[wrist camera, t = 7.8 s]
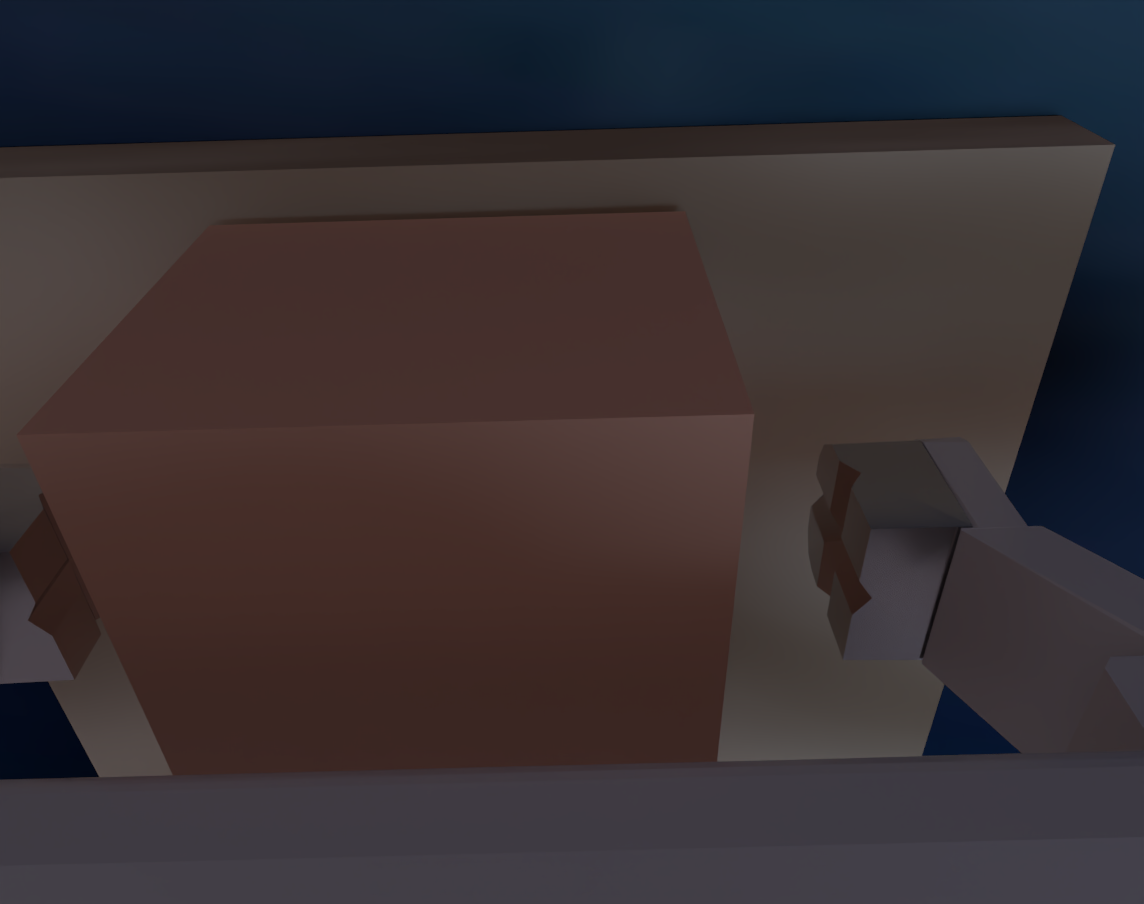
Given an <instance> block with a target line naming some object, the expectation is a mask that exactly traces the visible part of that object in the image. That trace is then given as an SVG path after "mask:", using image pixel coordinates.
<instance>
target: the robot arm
mask: <svg viewBox="0 0 1144 904" xmlns="http://www.w3.org/2000/svg"><path fill="white" fill-rule="evenodd" d="M816 476H817V479H818V481H819V484H820V486H821V489H822V491H823V495H822V496H821V497H820V498H819V499H818V500H817V501H816V502H815V503H814V504H813V505H812V506H811V509H810V516H809V524H808V554H809V559H810V565H811V570H812V573H813V576H814V579H815V582H816V585H817V587H818V588H820V589H821V590H822V591H824V592H825V593H826V594H828V595H829V596H830V600H829V606H828V611H827V617H828V620H829V623H830V625H831V628H832V631H833V634H834V637H835V639H836V642H837V645H838V648H839V651H840V653H841V656H842V659H843V660H922V664H923V665H924V666H925V667H926V668H927V669H928V670H929V671H930V672H932V673H933V674H934V675H935V676H936V677H937V678H938V679H939V680H941V681H942V682H943V683H944V684H945V685H946V686H947V687H948V688H949V689H951V690H952V691H953V692H954V693H955V694H956V695H957V696H958V697H960V698H961V699H962V700H963V701H964V702H965V703H966V704H967V705H968V706H970V707H971V708H972V709H973V710H974V711H975V712H976V713H977V714H979V715H980V716H981V717H982V718H983V719H984V720H985V721H986V722H987V723H989V724H990V725H991V726H992V727H993V728H994V729H995V730H996V731H998V732H999V733H1000V734H1001V735H1002V736H1003V737H1004V738H1005V739H1006V740H1008V741H1009V742H1010V743H1011V744H1012V745H1013V746H1014V747H1015V748H1017V749H1018V750H1019V751H1020V752H1021V753H1019V754H979V755H941V756H907V757H872V758H837V759H803V760H763V761H720V762H677V763H635V764H592V765H549V766H506V767H467V768H429V769H391V770H353V771H315V772H277V773H240V774H202V775H164V776H125V777H85V778H46V779H7V780H0V904H1144V579H1142V578H1140V577H1138V576H1136V575H1134V574H1132V573H1131V572H1129V571H1127V570H1125V569H1123V568H1121V567H1119V566H1117V565H1115V564H1113V563H1112V562H1110V561H1108V560H1106V559H1104V558H1102V557H1100V556H1098V555H1096V554H1094V553H1093V552H1091V551H1089V550H1087V549H1085V548H1083V547H1081V546H1079V545H1077V544H1075V543H1073V542H1072V541H1070V540H1068V539H1066V538H1064V537H1062V536H1060V535H1058V534H1056V533H1054V532H1053V531H1051V530H1049V529H1047V528H1045V527H1043V526H1027V524H1026V523H1025V521H1024V520H1023V519H1022V517H1021V516H1020V514H1019V513H1018V512H1017V510H1016V509H1015V507H1014V506H1013V504H1012V503H1011V502H1010V500H1009V499H1008V497H1007V496H1006V494H1005V493H1004V492H1003V490H1002V489H1001V487H1000V486H999V484H998V483H997V482H996V480H995V479H994V477H993V476H992V474H991V473H990V472H989V470H988V469H987V467H986V466H985V464H984V463H983V462H982V460H981V459H980V457H979V456H978V455H977V453H976V452H975V450H974V449H973V447H972V446H971V445H970V443H969V442H968V441H967V440H965V439H963V438H961V437H950V438H933V439H917V440H914V441H891V442H867V443H844V444H824V446H823V448H822V451H821V453H820V456H819V460H818V466H817V472H816ZM98 618H100V616H99V614H98V612H97V609H96V607H95V605H94V603H93V601H92V599H91V596H90V594H89V592H88V590H87V588H86V586H85V583H84V581H83V579H82V577H81V575H80V573H79V570H78V568H77V566H76V564H75V562H74V559H73V557H72V555H71V553H70V551H69V549H68V546H67V544H66V542H65V540H64V538H63V536H62V533H61V531H60V529H59V527H58V525H57V523H56V520H55V518H54V516H53V514H52V512H51V510H50V507H49V505H48V503H47V501H46V499H45V496H44V494H43V492H42V490H41V488H40V486H39V483H38V481H37V479H36V477H35V475H34V473H33V470H32V468H31V466H30V464H29V463H24V464H0V684H5V683H24V682H43V681H62V680H75V678H76V676H77V675H78V673H79V671H80V670H81V668H82V666H83V664H84V663H85V661H86V659H87V658H88V656H89V654H90V653H91V651H92V649H93V647H94V646H95V644H96V642H97V641H98V639H99V637H100V636H101V632H100V629H99V626H98V624H97V621H96V620H97V619H98Z"/></svg>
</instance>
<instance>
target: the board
mask: <svg viewBox="0 0 1144 904" xmlns="http://www.w3.org/2000/svg"><path fill="white" fill-rule="evenodd" d="M1114 147H1115V144H1113V143H1111V142H1109V141H1108V140H1106V139H1104V138H1102V137H1100V136H1098V135H1096V134H1095V133H1093V132H1091V131H1089V130H1087V129H1085V128H1083V127H1082V126H1080V125H1078V124H1076V123H1074V122H1072V121H1070V120H1069V119H1067V118H1065V117H1063V116H1031V117H998V118H965V119H931V120H898V121H865V122H832V123H798V124H765V125H732V126H699V127H666V128H632V129H599V130H566V131H533V132H500V133H466V134H433V135H400V136H367V137H334V138H300V139H267V140H234V141H201V142H168V143H134V144H101V145H68V146H35V147H1V148H0V464H24V463H29V462H28V460H27V457H26V455H25V453H24V451H23V449H22V447H21V444H20V442H19V440H18V438H17V436H16V435H17V434H18V432H19V431H20V430H21V429H22V428H23V427H24V426H25V425H26V424H27V423H28V422H29V421H30V419H31V418H32V417H33V416H34V415H35V414H36V413H37V412H38V411H39V410H40V409H41V408H42V406H43V405H44V404H45V403H46V402H47V401H48V400H49V399H50V398H51V397H52V396H53V394H54V393H55V392H56V391H57V390H58V389H59V388H60V387H61V386H62V385H63V384H64V383H65V381H66V380H67V379H68V378H69V377H70V376H71V375H72V374H73V373H74V372H75V371H76V370H77V368H78V367H79V366H80V365H81V364H82V363H83V362H84V361H85V360H86V359H87V358H88V357H89V355H90V354H91V353H92V352H93V351H94V350H95V349H96V348H97V347H98V346H99V345H100V343H101V342H102V341H103V340H104V339H105V338H106V337H107V336H108V335H109V334H110V333H111V332H112V330H113V329H114V328H115V327H116V326H117V325H118V324H119V323H120V322H121V321H122V320H123V319H124V317H125V316H126V315H127V314H128V313H129V312H130V311H131V310H132V309H133V308H134V307H135V305H136V304H137V303H138V302H139V301H140V300H141V299H142V298H143V297H144V296H145V295H146V294H147V292H148V291H149V290H150V289H151V288H152V287H153V286H154V285H155V284H156V283H157V282H158V281H159V279H160V278H161V277H162V276H163V275H164V274H165V273H166V272H167V271H168V270H169V269H170V267H171V266H172V265H173V264H174V263H175V262H176V261H177V260H178V259H179V258H180V257H181V256H182V254H183V253H184V252H185V251H186V250H187V249H188V248H189V247H190V246H191V245H192V244H193V243H194V241H195V240H196V239H197V238H198V237H199V236H200V235H201V234H202V233H203V232H204V231H205V230H206V228H207V227H208V226H209V225H235V224H269V223H303V222H337V221H371V220H404V219H438V218H472V217H506V216H540V215H573V214H607V213H641V212H675V211H685V212H686V215H687V218H688V221H689V224H690V227H691V230H692V233H693V236H694V239H695V242H696V245H697V248H698V250H699V253H700V256H701V259H702V262H703V265H704V268H705V271H706V274H707V277H708V280H709V283H710V286H711V288H712V291H713V294H714V297H715V300H716V303H717V306H718V309H719V312H720V315H721V318H722V321H723V324H724V326H725V329H726V332H727V335H728V338H729V341H730V344H731V347H732V350H733V353H734V356H735V359H736V362H737V364H738V367H739V370H740V373H741V376H742V379H743V382H744V385H745V388H746V391H747V394H748V397H749V400H750V403H751V405H752V408H753V411H754V423H753V432H752V442H751V451H750V460H749V470H748V479H747V488H746V497H745V507H744V516H743V525H742V535H741V544H740V553H739V563H738V572H737V581H736V590H735V600H734V609H733V618H732V628H731V637H730V646H729V655H728V665H727V674H726V683H725V693H724V702H723V711H722V721H721V730H720V739H719V748H718V758H717V762H720V761H763V760H803V759H837V758H872V757H907V756H922V753H923V750H924V747H925V744H926V741H927V737H928V734H929V731H930V728H931V725H932V722H933V718H934V715H935V712H936V709H937V706H938V703H939V700H940V696H941V693H942V690H943V687H944V683H943V682H942V681H941V680H939V679H938V678H937V677H936V676H935V675H934V674H933V673H932V672H930V671H929V670H928V669H927V668H926V667H925V666H924V665H923V664H922V660H843V659H842V656H841V653H840V651H839V648H838V645H837V642H836V639H835V637H834V634H833V631H832V628H831V625H830V623H829V620H828V617H827V611H828V606H829V600H830V596H829V595H828V594H826V593H825V592H824V591H822V590H821V589H820V588H818V587H817V585H816V582H815V579H814V576H813V573H812V570H811V565H810V559H809V554H808V524H809V516H810V509H811V506H812V505H813V504H814V503H815V502H816V501H817V500H818V499H819V498H820V497H821V496H822V495H823V491H822V489H821V486H820V484H819V481H818V479H817V476H816V472H817V466H818V460H819V456H820V453H821V451H822V448H823V446H824V444H844V443H867V442H891V441H914V440H917V439H933V438H950V437H961V438H963V439H965V440H967V441H968V442H969V443H970V445H971V446H972V447H973V449H974V450H975V452H976V453H977V455H978V456H979V457H980V459H981V460H982V462H983V463H984V464H985V466H986V467H987V469H988V470H989V472H990V473H991V474H992V476H993V477H994V479H995V480H996V482H997V483H998V484H999V486H1000V487H1001V489H1002V490H1003V492H1004V493H1005V491H1006V488H1007V485H1008V482H1009V479H1010V475H1011V472H1012V469H1013V466H1014V463H1015V460H1016V456H1017V453H1018V450H1019V447H1020V444H1021V441H1022V437H1023V434H1024V431H1025V428H1026V425H1027V422H1028V419H1029V415H1030V412H1031V409H1032V406H1033V403H1034V400H1035V396H1036V393H1037V390H1038V387H1039V384H1040V381H1041V377H1042V374H1043V371H1044V368H1045V365H1046V362H1047V359H1048V355H1049V352H1050V349H1051V346H1052V343H1053V340H1054V336H1055V333H1056V330H1057V327H1058V324H1059V321H1060V317H1061V314H1062V311H1063V308H1064V305H1065V302H1066V299H1067V295H1068V292H1069V289H1070V286H1071V283H1072V280H1073V276H1074V273H1075V270H1076V267H1077V264H1078V261H1079V257H1080V254H1081V251H1082V248H1083V245H1084V242H1085V239H1086V235H1087V232H1088V229H1089V226H1090V223H1091V220H1092V216H1093V213H1094V210H1095V207H1096V204H1097V201H1098V198H1099V194H1100V191H1101V188H1102V185H1103V182H1104V179H1105V175H1106V172H1107V169H1108V166H1109V163H1110V160H1111V156H1112V153H1113V150H1114ZM96 621H97V624H98V626H99V629H100V632H101V636H100V637H99V639H98V641H97V642H96V644H95V646H94V647H93V649H92V651H91V653H90V654H89V656H88V658H87V659H86V661H85V663H84V664H83V666H82V668H81V670H80V671H79V673H78V675H77V676H76V678H75V680H62V681H48V682H49V684H50V686H51V688H52V690H53V692H54V694H55V695H56V697H57V699H58V701H59V703H60V705H61V707H62V708H63V710H64V712H65V714H66V716H67V718H68V720H69V721H70V723H71V725H72V727H73V729H74V731H75V733H76V734H77V736H78V738H79V740H80V742H81V744H82V746H83V747H84V749H85V751H86V753H87V755H88V757H89V759H90V760H91V762H92V764H93V766H94V768H95V770H96V772H97V773H98V775H99V777H125V776H164V775H172V772H171V770H170V768H169V766H168V764H167V762H166V759H165V757H164V755H163V753H162V751H161V748H160V746H159V744H158V742H157V740H156V738H155V735H154V733H153V731H152V729H151V727H150V725H149V722H148V720H147V718H146V716H145V714H144V712H143V709H142V707H141V705H140V703H139V701H138V699H137V696H136V694H135V692H134V690H133V688H132V685H131V683H130V681H129V679H128V677H127V675H126V672H125V670H124V668H123V666H122V664H121V662H120V659H119V657H118V655H117V653H116V651H115V649H114V646H113V644H112V642H111V640H110V638H109V636H108V633H107V631H106V629H105V627H104V625H103V622H102V620H101V618H98V619H97V620H96Z"/></svg>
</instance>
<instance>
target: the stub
mask: <svg viewBox="0 0 1144 904" xmlns="http://www.w3.org/2000/svg"><path fill="white" fill-rule="evenodd" d="M753 423H754V411H753V408H752V405H751V403H750V400H749V397H748V394H747V391H746V388H745V385H744V382H743V379H742V376H741V373H740V370H739V367H738V364H737V362H736V359H735V356H734V353H733V350H732V347H731V344H730V341H729V338H728V335H727V332H726V329H725V326H724V324H723V321H722V318H721V315H720V312H719V309H718V306H717V303H716V300H715V297H714V294H713V291H712V288H711V286H710V283H709V280H708V277H707V274H706V271H705V268H704V265H703V262H702V259H701V256H700V253H699V250H698V248H697V245H696V242H695V239H694V236H693V233H692V230H691V227H690V224H689V221H688V218H687V215H686V212H685V211H675V212H641V213H607V214H573V215H540V216H506V217H472V218H438V219H404V220H371V221H337V222H303V223H269V224H235V225H209V226H208V227H207V228H206V230H205V231H204V232H203V233H202V234H201V235H200V236H199V237H198V238H197V239H196V240H195V241H194V243H193V244H192V245H191V246H190V247H189V248H188V249H187V250H186V251H185V252H184V253H183V254H182V256H181V257H180V258H179V259H178V260H177V261H176V262H175V263H174V264H173V265H172V266H171V267H170V269H169V270H168V271H167V272H166V273H165V274H164V275H163V276H162V277H161V278H160V279H159V281H158V282H157V283H156V284H155V285H154V286H153V287H152V288H151V289H150V290H149V291H148V292H147V294H146V295H145V296H144V297H143V298H142V299H141V300H140V301H139V302H138V303H137V304H136V305H135V307H134V308H133V309H132V310H131V311H130V312H129V313H128V314H127V315H126V316H125V317H124V319H123V320H122V321H121V322H120V323H119V324H118V325H117V326H116V327H115V328H114V329H113V330H112V332H111V333H110V334H109V335H108V336H107V337H106V338H105V339H104V340H103V341H102V342H101V343H100V345H99V346H98V347H97V348H96V349H95V350H94V351H93V352H92V353H91V354H90V355H89V357H88V358H87V359H86V360H85V361H84V362H83V363H82V364H81V365H80V366H79V367H78V368H77V370H76V371H75V372H74V373H73V374H72V375H71V376H70V377H69V378H68V379H67V380H66V381H65V383H64V384H63V385H62V386H61V387H60V388H59V389H58V390H57V391H56V392H55V393H54V394H53V396H52V397H51V398H50V399H49V400H48V401H47V402H46V403H45V404H44V405H43V406H42V408H41V409H40V410H39V411H38V412H37V413H36V414H35V415H34V416H33V417H32V418H31V419H30V421H29V422H28V423H27V424H26V425H25V426H24V427H23V428H22V429H21V430H20V431H19V432H18V434H17V435H16V436H17V438H18V440H19V442H20V444H21V447H22V449H23V451H24V453H25V455H26V457H27V460H28V462H29V464H30V466H31V468H32V470H33V473H34V475H35V477H36V479H37V481H38V483H39V486H40V488H41V490H42V492H43V494H44V496H45V499H46V501H47V503H48V505H49V507H50V510H51V512H52V514H53V516H54V518H55V520H56V523H57V525H58V527H59V529H60V531H61V533H62V536H63V538H64V540H65V542H66V544H67V546H68V549H69V551H70V553H71V555H72V557H73V559H74V562H75V564H76V566H77V568H78V570H79V573H80V575H81V577H82V579H83V581H84V583H85V586H86V588H87V590H88V592H89V594H90V596H91V599H92V601H93V603H94V605H95V607H96V609H97V612H98V614H99V616H100V618H101V620H102V622H103V625H104V627H105V629H106V631H107V633H108V636H109V638H110V640H111V642H112V644H113V646H114V649H115V651H116V653H117V655H118V657H119V659H120V662H121V664H122V666H123V668H124V670H125V672H126V675H127V677H128V679H129V681H130V683H131V685H132V688H133V690H134V692H135V694H136V696H137V699H138V701H139V703H140V705H141V707H142V709H143V712H144V714H145V716H146V718H147V720H148V722H149V725H150V727H151V729H152V731H153V733H154V735H155V738H156V740H157V742H158V744H159V746H160V748H161V751H162V753H163V755H164V757H165V759H166V762H167V764H168V766H169V768H170V770H171V772H172V775H202V774H240V773H277V772H315V771H353V770H391V769H429V768H467V767H506V766H549V765H592V764H635V763H677V762H717V758H718V748H719V739H720V730H721V721H722V711H723V702H724V693H725V683H726V674H727V665H728V655H729V646H730V637H731V628H732V618H733V609H734V600H735V590H736V581H737V572H738V563H739V553H740V544H741V535H742V525H743V516H744V507H745V497H746V488H747V479H748V470H749V460H750V451H751V442H752V432H753Z"/></svg>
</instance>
